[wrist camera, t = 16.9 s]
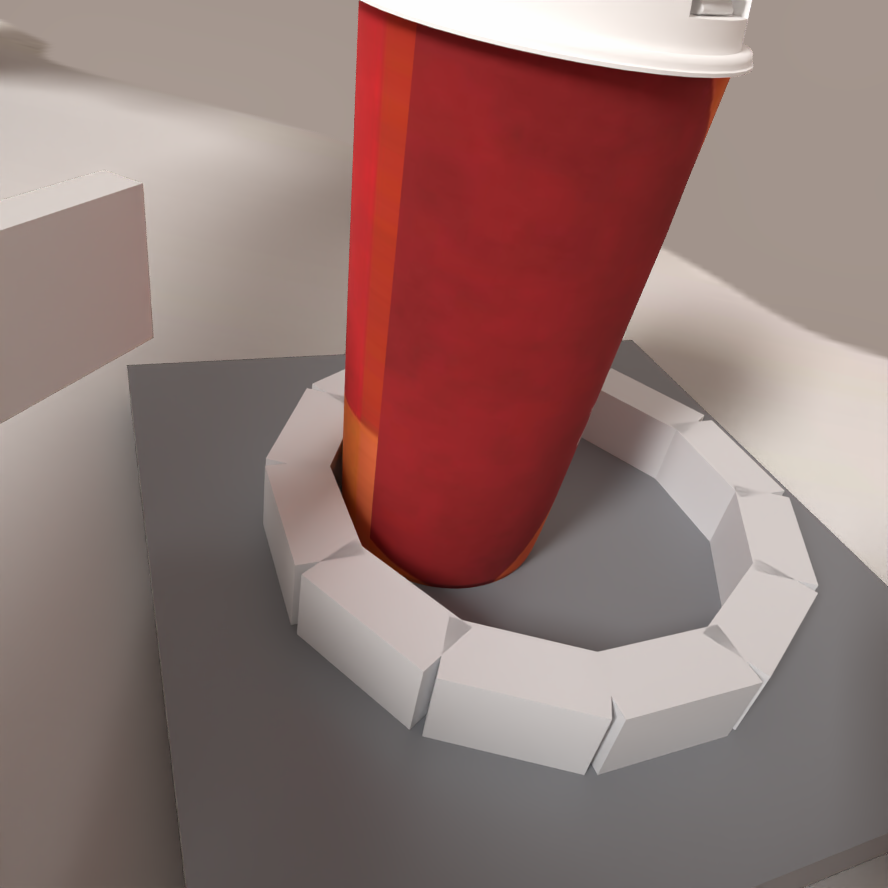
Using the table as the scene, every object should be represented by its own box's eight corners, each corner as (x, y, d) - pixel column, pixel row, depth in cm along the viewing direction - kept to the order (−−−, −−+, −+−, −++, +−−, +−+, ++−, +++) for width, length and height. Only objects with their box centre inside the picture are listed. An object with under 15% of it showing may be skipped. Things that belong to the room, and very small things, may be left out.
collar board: (130, 402, 26) (122, 310, 24) (621, 369, 34) (646, 297, 32) (213, 1131, 12) (209, 1059, 10) (1031, 793, 20) (1124, 711, 18)
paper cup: (622, 533, 23) (847, -9, 14) (447, 676, 18) (639, -28, 9) (431, 405, 26) (523, -85, 18) (242, 494, 21) (249, -128, 13)
